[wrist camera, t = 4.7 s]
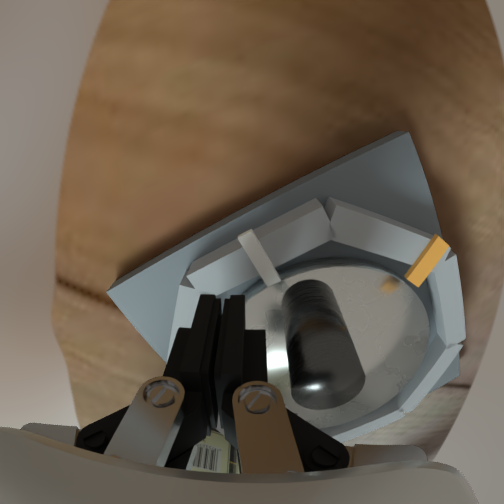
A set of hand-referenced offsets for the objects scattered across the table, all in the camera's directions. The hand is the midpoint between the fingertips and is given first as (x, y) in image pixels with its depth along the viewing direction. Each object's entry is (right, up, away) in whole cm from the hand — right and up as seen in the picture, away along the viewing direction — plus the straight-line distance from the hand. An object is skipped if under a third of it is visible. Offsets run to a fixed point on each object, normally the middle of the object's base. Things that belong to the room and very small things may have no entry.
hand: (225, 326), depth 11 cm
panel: (+5, -2, +6) cm, 8 cm away
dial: (+5, -3, +5) cm, 7 cm away
